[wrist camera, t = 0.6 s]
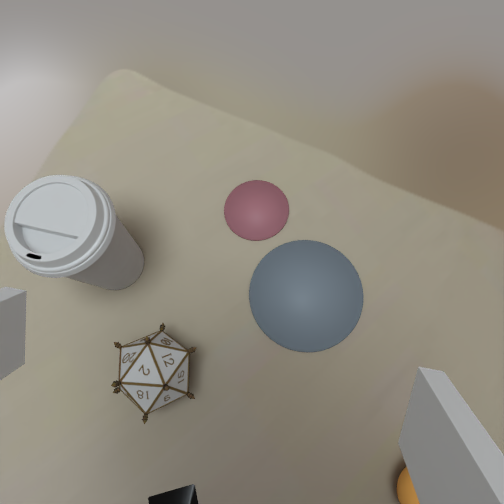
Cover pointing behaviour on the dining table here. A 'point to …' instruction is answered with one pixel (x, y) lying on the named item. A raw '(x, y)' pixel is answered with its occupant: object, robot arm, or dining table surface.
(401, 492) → the ball
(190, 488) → the black boxy piece
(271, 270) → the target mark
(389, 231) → the dining table surface
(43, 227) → the coffee cup
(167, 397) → the game die
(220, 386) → the dining table surface
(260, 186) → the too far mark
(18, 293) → the robot arm
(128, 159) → the dining table surface
